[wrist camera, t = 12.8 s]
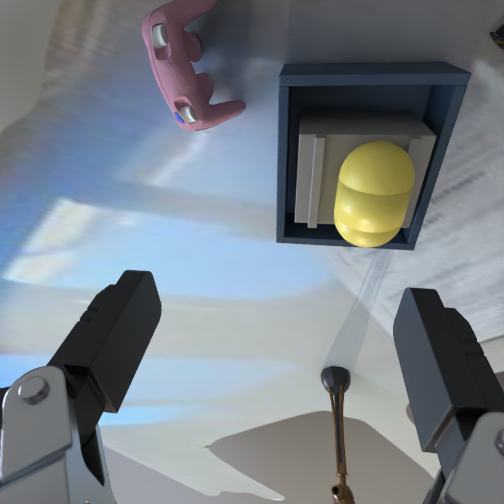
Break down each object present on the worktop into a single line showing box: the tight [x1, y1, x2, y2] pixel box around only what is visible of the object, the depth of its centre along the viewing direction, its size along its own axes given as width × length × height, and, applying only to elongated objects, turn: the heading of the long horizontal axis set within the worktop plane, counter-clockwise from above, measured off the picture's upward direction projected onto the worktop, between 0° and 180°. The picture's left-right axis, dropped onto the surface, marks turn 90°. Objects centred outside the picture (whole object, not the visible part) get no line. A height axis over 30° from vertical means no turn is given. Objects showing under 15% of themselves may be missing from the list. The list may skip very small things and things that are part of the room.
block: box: [295, 111, 436, 228], centre depth 30 cm, size 8×10×9 cm
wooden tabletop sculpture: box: [321, 366, 355, 504], centre depth 48 cm, size 6×5×20 cm
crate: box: [276, 62, 471, 250], centre depth 31 cm, size 16×14×6 cm
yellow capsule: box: [334, 141, 415, 248], centre depth 25 cm, size 8×5×5 cm, turn 2°
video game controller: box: [142, 0, 246, 131], centre depth 28 cm, size 10×5×7 cm, turn 17°
